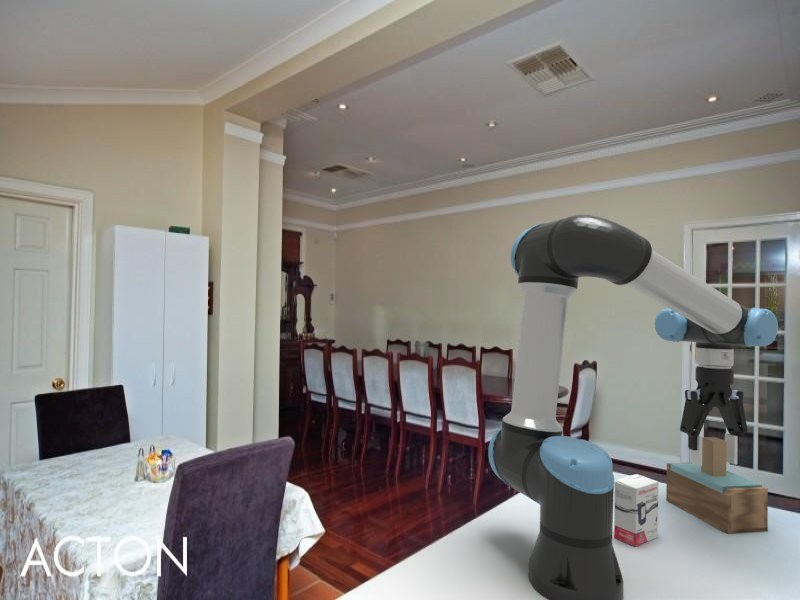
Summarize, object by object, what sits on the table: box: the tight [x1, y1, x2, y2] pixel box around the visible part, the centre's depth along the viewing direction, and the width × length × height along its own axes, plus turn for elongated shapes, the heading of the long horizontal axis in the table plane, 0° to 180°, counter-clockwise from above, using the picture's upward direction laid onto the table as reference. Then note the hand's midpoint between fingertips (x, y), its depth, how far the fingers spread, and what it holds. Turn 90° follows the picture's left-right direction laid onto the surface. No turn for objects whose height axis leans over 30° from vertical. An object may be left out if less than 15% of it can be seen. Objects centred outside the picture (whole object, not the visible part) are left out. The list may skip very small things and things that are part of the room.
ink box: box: [613, 473, 659, 547], centre depth 99 cm, size 8×5×12 cm, turn 123°
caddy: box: [665, 462, 769, 535], centre depth 111 cm, size 10×18×9 cm, turn 10°
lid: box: [670, 436, 763, 494], centre depth 111 cm, size 10×15×10 cm, turn 10°
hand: (713, 463), depth 111 cm, fingers open, 9 cm apart
